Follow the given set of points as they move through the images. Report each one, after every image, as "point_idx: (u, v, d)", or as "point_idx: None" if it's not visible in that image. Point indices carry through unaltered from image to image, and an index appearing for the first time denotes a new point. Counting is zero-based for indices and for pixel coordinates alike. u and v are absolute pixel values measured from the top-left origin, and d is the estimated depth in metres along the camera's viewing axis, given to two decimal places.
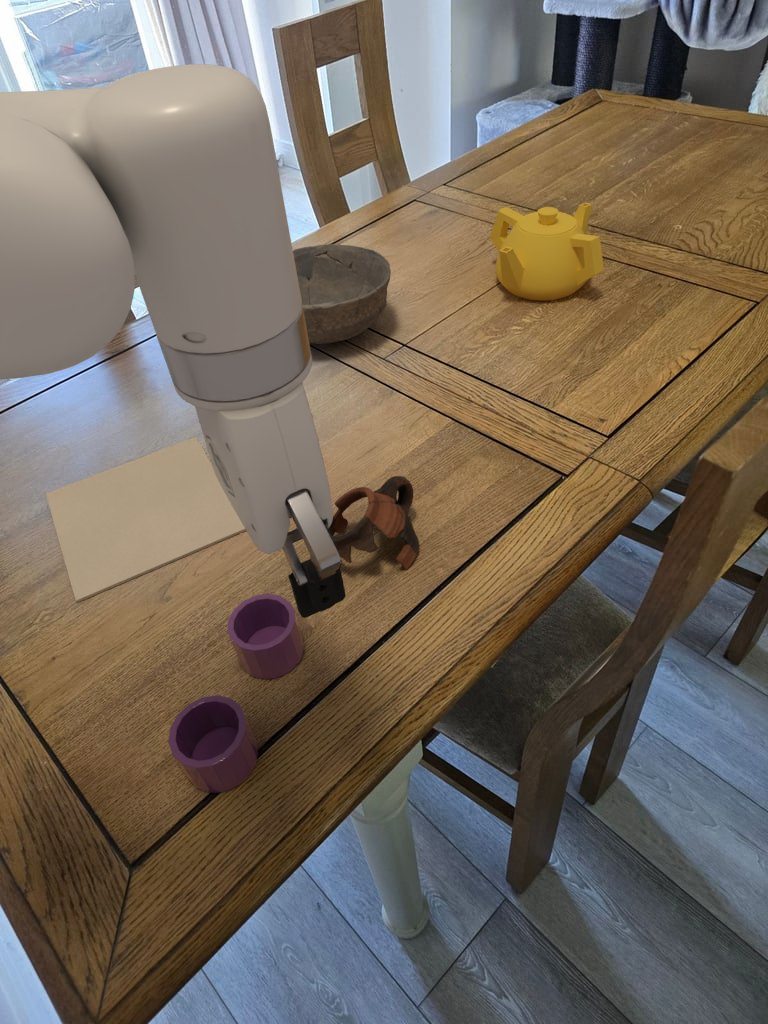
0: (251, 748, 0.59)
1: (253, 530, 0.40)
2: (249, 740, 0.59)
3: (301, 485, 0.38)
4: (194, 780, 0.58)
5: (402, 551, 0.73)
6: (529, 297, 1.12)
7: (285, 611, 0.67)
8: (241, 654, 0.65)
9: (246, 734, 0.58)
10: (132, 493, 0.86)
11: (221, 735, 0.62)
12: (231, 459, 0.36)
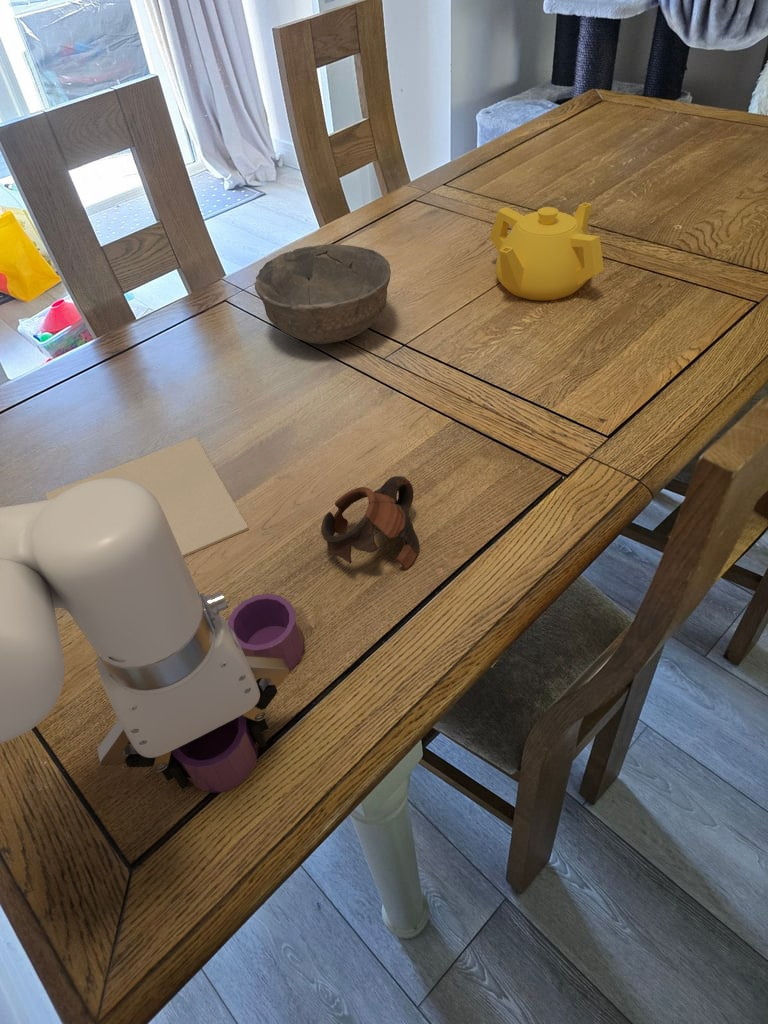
0: (251, 748, 0.59)
1: None
2: (249, 740, 0.59)
3: None
4: (194, 780, 0.58)
5: (402, 551, 0.73)
6: (529, 297, 1.12)
7: (285, 611, 0.67)
8: None
9: (246, 734, 0.58)
10: None
11: (221, 735, 0.62)
12: None
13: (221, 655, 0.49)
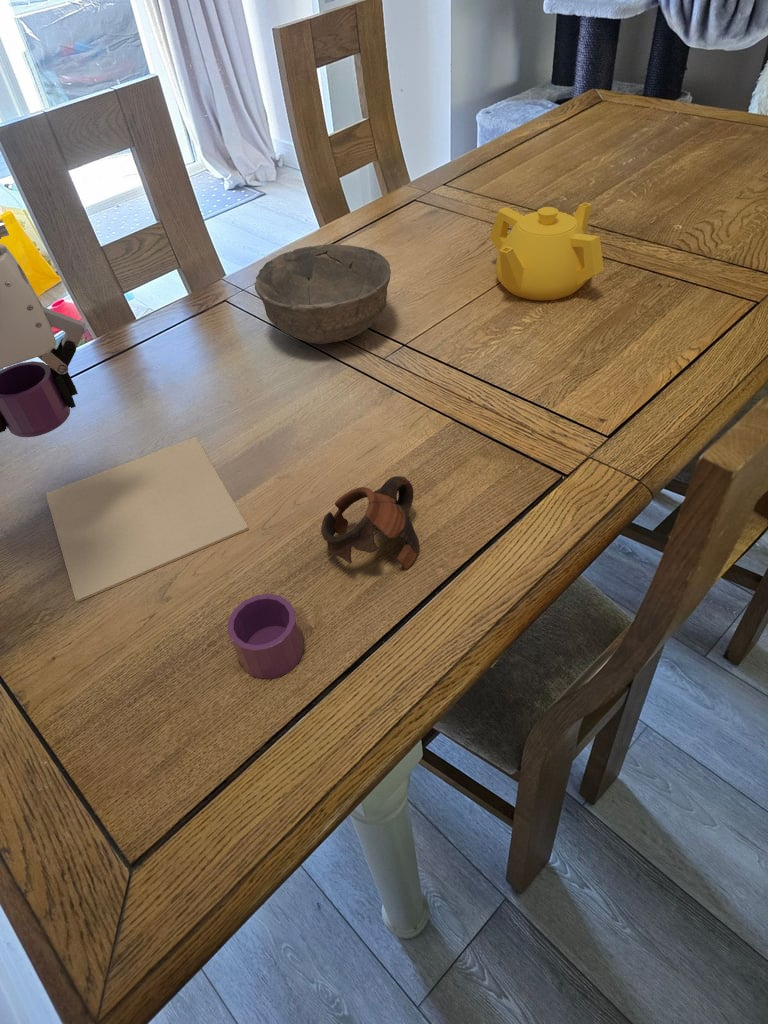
0: (58, 401, 0.72)
1: None
2: (55, 391, 0.71)
3: None
4: (8, 421, 0.71)
5: (402, 551, 0.73)
6: (529, 297, 1.12)
7: (285, 611, 0.67)
8: (241, 654, 0.65)
9: (50, 382, 0.70)
10: (132, 493, 0.86)
11: None
12: None
13: (3, 272, 0.62)
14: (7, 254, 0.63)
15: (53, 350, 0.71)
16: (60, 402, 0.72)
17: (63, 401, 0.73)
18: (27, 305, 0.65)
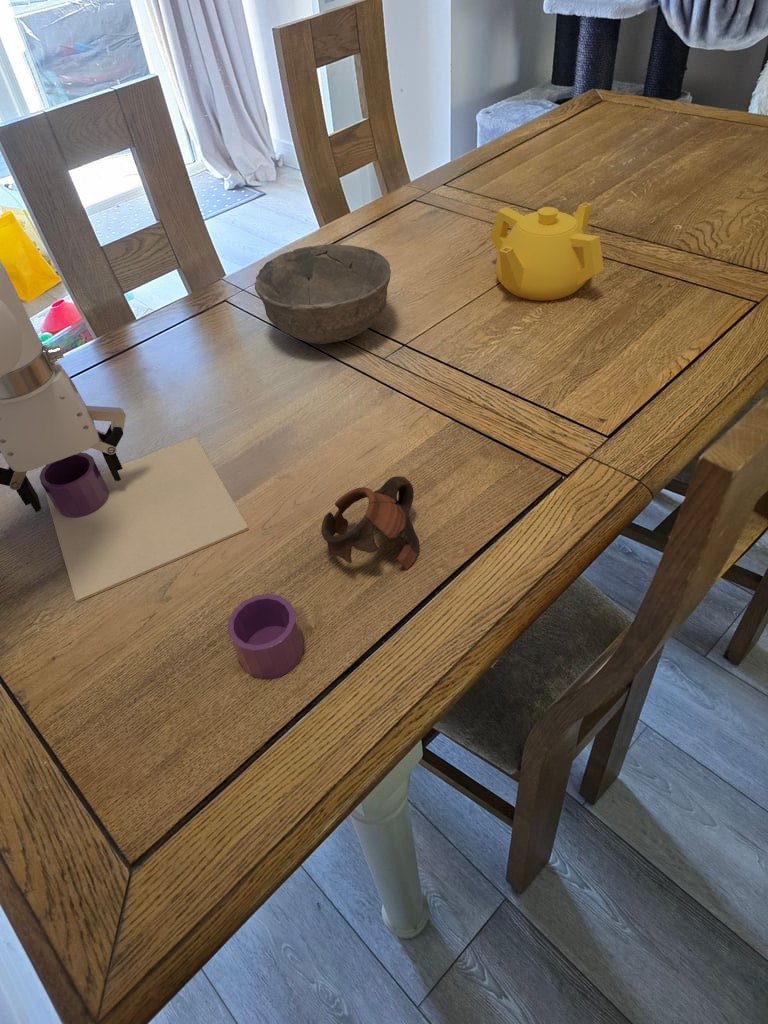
0: (100, 487, 0.84)
1: None
2: (98, 479, 0.84)
3: None
4: (58, 505, 0.83)
5: (402, 551, 0.73)
6: (529, 297, 1.12)
7: (285, 611, 0.67)
8: (241, 654, 0.65)
9: (94, 472, 0.83)
10: (132, 493, 0.86)
11: None
12: None
13: (59, 388, 0.74)
14: (62, 372, 0.75)
15: (101, 435, 0.83)
16: (102, 487, 0.85)
17: (104, 486, 0.85)
18: (77, 412, 0.77)
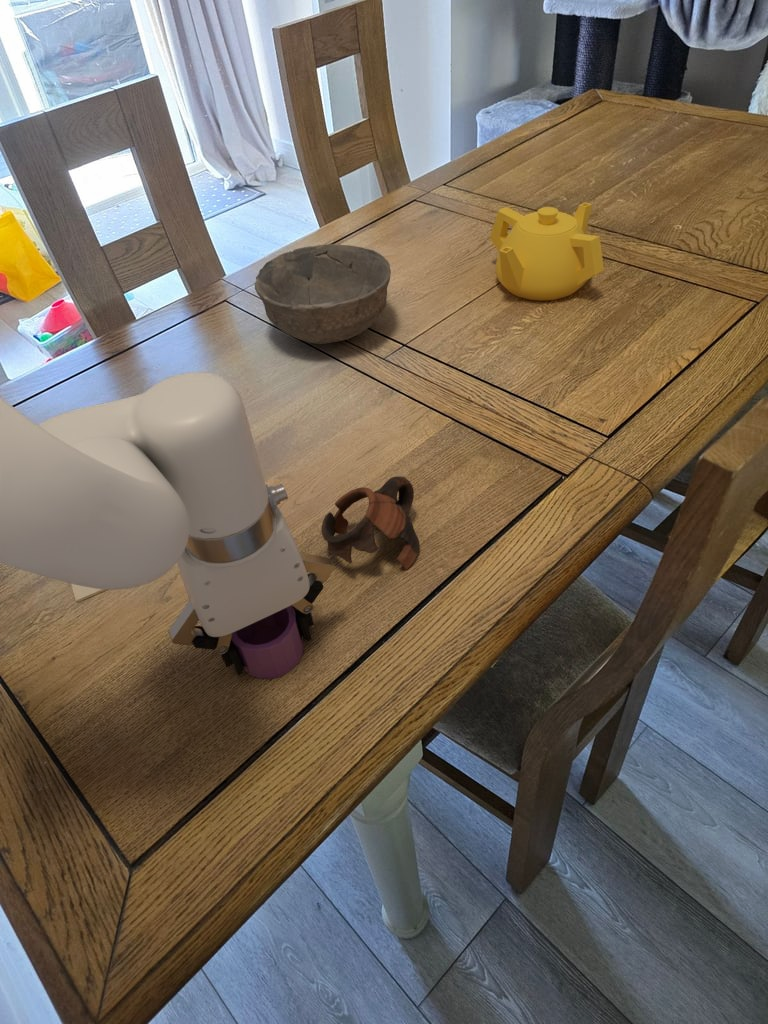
0: None
1: None
2: None
3: (190, 602, 0.59)
4: None
5: (402, 551, 0.73)
6: (529, 297, 1.12)
7: (285, 611, 0.67)
8: (241, 654, 0.65)
9: None
10: None
11: None
12: None
13: (281, 539, 0.57)
14: (282, 517, 0.57)
15: None
16: None
17: None
18: (295, 563, 0.59)
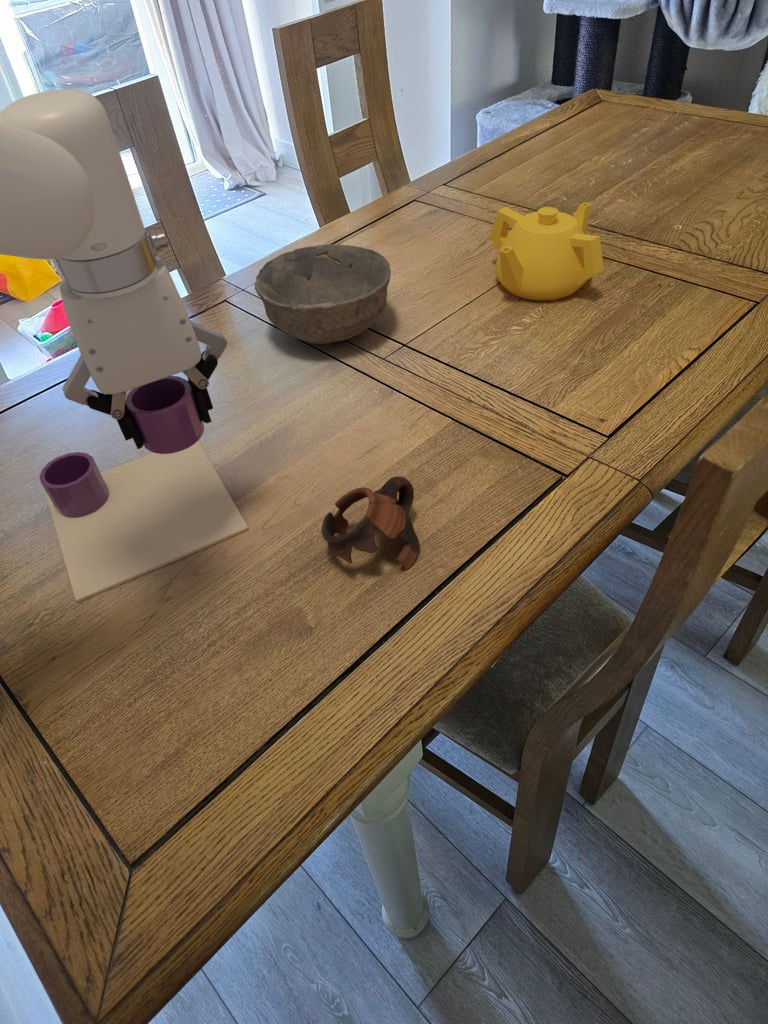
0: (100, 487, 0.84)
1: None
2: (98, 479, 0.84)
3: (80, 352, 0.62)
4: (58, 505, 0.83)
5: (402, 551, 0.73)
6: (529, 297, 1.12)
7: (184, 391, 0.70)
8: (138, 424, 0.68)
9: (94, 472, 0.83)
10: (132, 493, 0.86)
11: None
12: None
13: (162, 286, 0.60)
14: (164, 267, 0.60)
15: None
16: (102, 487, 0.85)
17: (104, 486, 0.85)
18: (180, 319, 0.62)
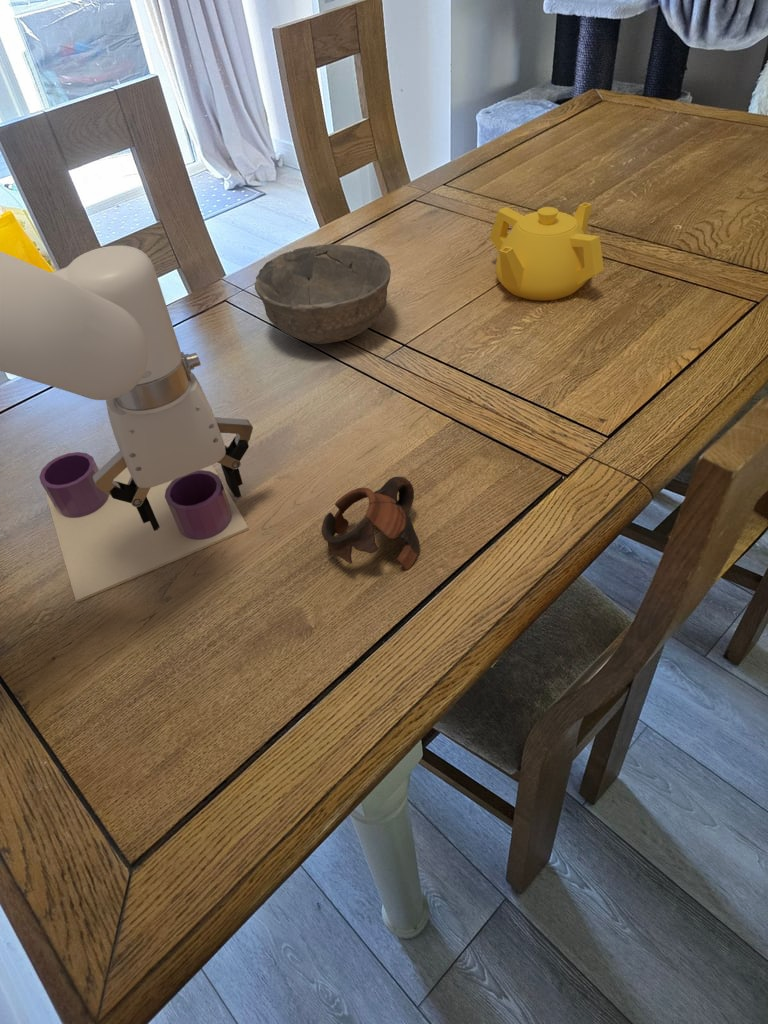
0: None
1: None
2: None
3: (120, 450, 0.70)
4: (58, 505, 0.83)
5: (402, 551, 0.73)
6: (529, 297, 1.12)
7: (215, 484, 0.80)
8: (176, 515, 0.78)
9: (94, 472, 0.83)
10: None
11: None
12: None
13: (195, 399, 0.69)
14: (197, 381, 0.69)
15: None
16: None
17: None
18: (209, 424, 0.71)
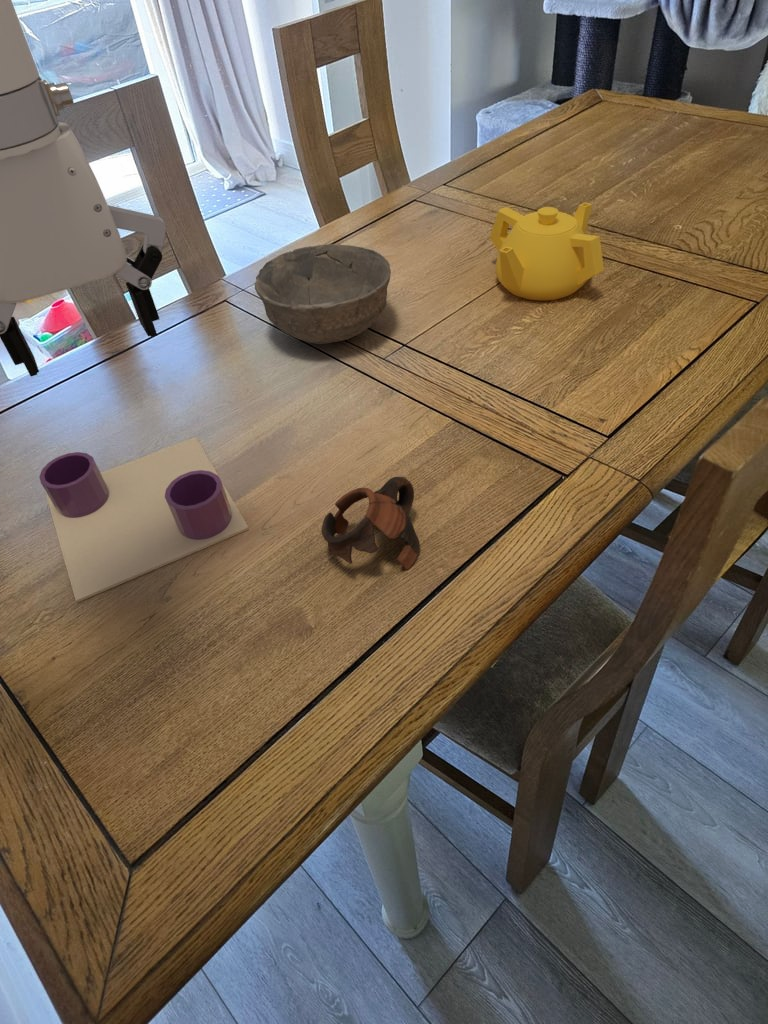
0: (100, 487, 0.84)
1: None
2: (98, 479, 0.84)
3: None
4: (58, 505, 0.83)
5: (403, 551, 0.73)
6: (529, 297, 1.12)
7: (215, 484, 0.80)
8: (176, 515, 0.78)
9: (94, 472, 0.83)
10: (132, 493, 0.86)
11: None
12: None
13: (67, 154, 0.46)
14: (71, 132, 0.47)
15: (128, 261, 0.55)
16: (102, 487, 0.85)
17: (104, 486, 0.85)
18: (94, 204, 0.49)
